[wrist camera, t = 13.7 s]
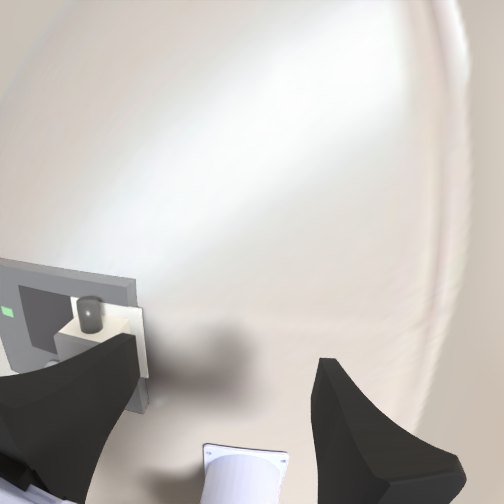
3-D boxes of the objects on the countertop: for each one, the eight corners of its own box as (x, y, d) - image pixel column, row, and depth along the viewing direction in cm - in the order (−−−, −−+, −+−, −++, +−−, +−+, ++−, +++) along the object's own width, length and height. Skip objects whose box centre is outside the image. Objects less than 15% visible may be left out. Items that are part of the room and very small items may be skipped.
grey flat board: (159, 405, 25) (152, 421, 23) (19, 362, 26) (8, 372, 24) (148, 280, 22) (136, 292, 20) (-7, 256, 23) (-21, 263, 21)
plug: (134, 365, 22) (113, 397, 19) (90, 354, 23) (66, 383, 19) (126, 293, 21) (98, 320, 17) (79, 285, 21) (47, 308, 17)
